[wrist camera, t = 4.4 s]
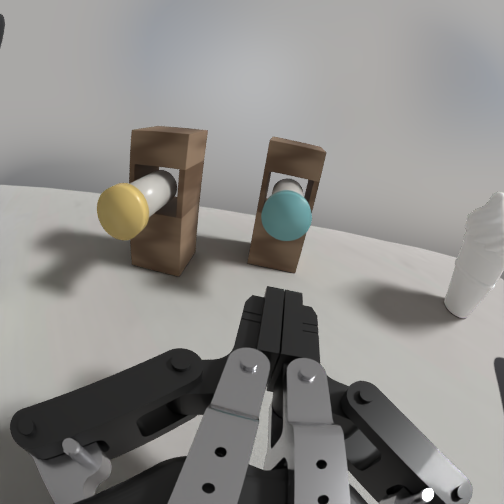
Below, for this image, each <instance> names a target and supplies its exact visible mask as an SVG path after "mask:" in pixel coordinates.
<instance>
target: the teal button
mask: <svg viewBox="0 0 504 504" xmlns="http://www.w3.org/2000/svg"><path fill="white" fill-rule="evenodd" d="M261 220H262V224H263V227H264V228H265V230H266V231H267V233H268V234H269V235H271V236H272V237H274V238H276V239H278V240H282V241H292V240H296V239H298V238H300V237H302V236H303V235H304V234H305V233H306V232H307V231H308V229H309V227H310V225H311V221H312V215H311V209H310V206H309V204H308V202H307V200H306V199H305V198H304V197H303V190H302V187H301V186H300V184H299V183H298V182H296V181H295V180H292V179H282V180H280V181H278V182H277V183H276V184H275V186H274V188H273V192H272V195H271V196H270V197H269V198H268V199H267V200H266V202H265V204H264V207H263V210H262V215H261Z"/></svg>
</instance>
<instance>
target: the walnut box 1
mask: <svg viewBox="0 0 504 504" xmlns="http://www.w3.org/2000/svg"><path fill="white" fill-rule="evenodd" d="M207 133H208V131H207V130H199V129H189V128H178V127H164V126H155V127H149V128H141V129H135V130H132V135H131V150H130V173H129V175H130V177H129V184H130V183H132V182H134V181H136V180H138V179H140V178H142V177H144V176H146V175H148V174H150V173H152V172H154V171H157V170H159V167H166V168H174V169H180V170H179V171H180V172H179V183H178V196H177V197H174V198H173V199H172V200H170V201H169V202H168V203H167V204H165V205H164V206H163V207H162V208H160V209H159V210H158V211H156V212H155V213H154V214H153V215H151V216H150V217H149V220H148V223H147V225H146V227H145V228H144V229H143V230H142V231H141V232H140V233H139V234H138V235H136V236H135V237H134V238H132V239H130V244H131V260H132V265H135V266H139V267H143V268H147V269H150V270H154V271H158V272H162V273H166V274H170V275H174V276H180V275H181V273H182V272H183V270H184V269H185V267H186V266H187V264H188V262H189V261H190V259H191V258H192V256H193V255H194V253H195V249H196V236H197V224H198V212H199V202H200V192H201V182H202V173H203V164H204V155H205V148H206V140H207Z"/></svg>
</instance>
